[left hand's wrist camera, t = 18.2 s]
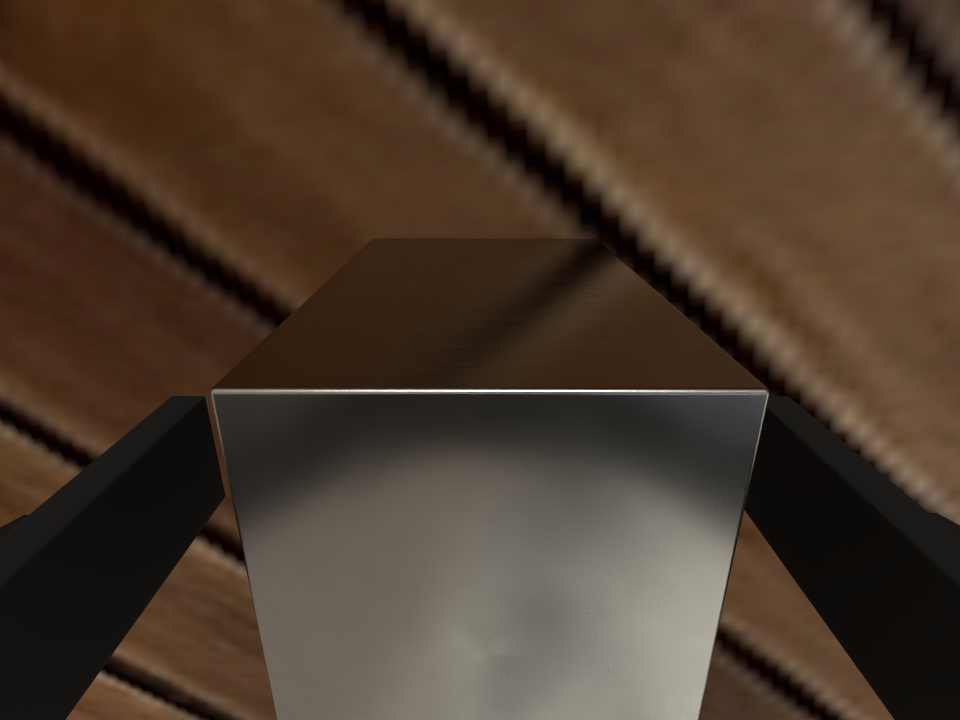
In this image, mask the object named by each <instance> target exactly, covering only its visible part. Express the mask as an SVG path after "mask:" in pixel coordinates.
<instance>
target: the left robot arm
mask: <svg viewBox="0 0 960 720" xmlns="http://www.w3.org/2000/svg"><path fill="white" fill-rule="evenodd" d="M224 497H225V492H224V487H223V482H222V477H221V472H220V468H219V463H218V458H217V453H216V448H215V443H214V438H213V433H212V429H211V424H210V419H209V414H208V409H207V404H206V399H205V396H172V397H170V398H169V399H168V400H167V401H166V402H164V403H163V404H162V405H161V406H160V407H158V408H157V409H156V410H155V411H154V412H152V413H151V414H150V415H149V416H148V417H146V418H145V419H144V420H143V421H142V422H140V423H139V424H138V425H137V426H136V427H134V428H133V429H132V430H131V431H130V432H128V433H127V434H126V435H125V436H124V437H122V438H121V439H120V440H119V441H117V442H116V443H115V444H114V445H113V446H111V447H110V448H109V449H108V450H107V451H105V452H104V453H103V454H102V455H101V456H99V457H98V458H97V459H96V460H95V461H93V462H92V463H91V464H90V465H89V466H87V467H86V468H85V469H84V470H83V471H81V472H80V473H79V474H78V475H77V476H75V477H74V478H73V479H72V480H71V481H69V482H68V483H67V484H66V485H65V486H63V487H62V488H61V489H60V490H59V491H57V492H56V493H55V494H54V495H53V496H51V497H50V498H49V499H48V500H47V501H45V502H44V503H43V504H42V505H40V506H39V507H38V508H37V509H36V510H34V511H33V512H32V513H31V514H30V515H23V516H21V517H19V518H18V519H16V520H14V521H12V522H10V523H8V524H6V525H5V526H3V527H1V528H0V720H66V718H67V717H68V715H69V714H70V713H71V711H72V710H73V708H74V707H75V706H76V704H77V703H78V701H79V700H80V699H81V697H82V696H83V694H84V693H85V692H86V690H87V689H88V687H89V686H90V685H91V683H92V682H93V680H94V679H95V678H96V676H97V675H98V673H99V672H100V671H101V669H102V668H103V666H104V665H105V664H106V662H107V661H108V659H109V658H110V657H111V655H112V654H113V652H114V651H115V650H116V648H117V647H118V645H119V644H120V643H121V641H122V640H123V638H124V637H125V636H126V634H127V633H128V631H129V630H130V629H131V627H132V626H133V624H134V623H135V622H136V620H137V619H138V617H139V616H140V615H141V613H142V612H143V610H144V609H145V608H146V606H147V605H148V604H149V602H150V601H151V599H152V598H153V597H154V595H155V594H156V592H157V591H158V590H159V588H160V587H161V585H162V584H163V583H164V581H165V580H166V578H167V577H168V576H169V574H170V573H171V571H172V570H173V569H174V567H175V566H176V564H177V563H178V562H179V560H180V559H181V557H182V556H183V555H184V553H185V552H186V550H187V549H188V548H189V546H190V545H191V543H192V542H193V541H194V539H195V538H196V536H197V535H198V534H199V532H200V531H201V529H202V528H203V527H204V525H205V524H206V522H207V521H208V520H209V518H210V517H211V515H212V514H213V513H214V511H215V510H216V508H217V507H218V506H219V504H220V503H221V501H222V500H223V499H224ZM744 510H745V511H746V513H747V514H748V515H749V517H750V518H751V520H752V521H753V522H754V524H755V525H756V527H757V528H758V529H759V531H760V532H761V534H762V535H763V536H764V538H765V539H766V541H767V542H768V543H769V545H770V546H771V548H772V549H773V550H774V552H775V553H776V555H777V556H778V557H779V559H780V560H781V562H782V563H783V564H784V566H785V567H786V569H787V570H788V571H789V573H790V574H791V576H792V577H793V578H794V580H795V581H796V583H797V584H798V585H799V587H800V588H801V590H802V591H803V592H804V594H805V595H806V596H807V598H808V599H809V601H810V602H811V603H812V605H813V606H814V608H815V609H816V610H817V612H818V613H819V615H820V616H821V617H822V619H823V620H824V622H825V623H826V624H827V626H828V627H829V629H830V630H831V631H832V633H833V634H834V636H835V637H836V638H837V640H838V641H839V643H840V644H841V645H842V647H843V648H844V650H845V651H846V652H847V654H848V655H849V657H850V658H851V659H852V661H853V662H854V664H855V665H856V666H857V668H858V669H859V671H860V672H861V673H862V675H863V676H864V678H865V679H866V680H867V682H868V683H869V685H870V686H871V687H872V689H873V690H874V692H875V693H876V694H877V696H878V697H879V699H880V700H881V701H882V703H883V704H884V706H885V707H886V708H887V710H888V711H889V712H890V714H891V715H892V717H893V718H894V719H895V720H960V525H958V524H956V523H954V522H952V521H950V520H949V519H947V518H945V517H943V516H941V515H939V514H937V513H928V512H927V511H926V510H924V509H923V508H922V507H921V506H920V505H918V504H917V503H916V502H915V501H914V500H912V499H911V498H910V497H909V496H908V495H906V494H905V493H904V492H903V491H901V490H900V489H899V488H898V487H897V486H895V485H894V484H893V483H892V482H891V481H889V480H888V479H887V478H886V477H885V476H883V475H882V474H881V473H880V472H879V471H877V470H876V469H875V468H874V467H873V466H871V465H870V464H869V463H868V462H867V461H865V460H864V459H863V458H862V457H861V456H859V455H858V454H857V453H856V452H855V451H853V450H852V449H851V448H850V447H849V446H847V445H846V444H845V443H844V442H843V441H841V440H840V439H839V438H838V437H837V436H835V435H834V434H833V433H832V432H831V431H829V430H828V429H827V428H826V427H824V426H823V425H822V424H821V423H820V422H818V421H817V420H816V419H815V418H814V417H812V416H811V415H810V414H809V413H808V412H806V411H805V410H804V409H803V408H802V407H800V406H799V405H798V404H797V403H796V402H794V401H793V400H792V399H791V398H790V397H788V396H769V397H768V401H767V406H766V411H765V415H764V420H763V424H762V429H761V434H760V438H759V443H758V447H757V452H756V457H755V461H754V466H753V470H752V475H751V480H750V484H749V489H748V493H747V498H746V503H745V507H744Z"/></svg>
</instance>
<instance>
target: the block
mask: <svg viewBox="0 0 960 720" xmlns="http://www.w3.org/2000/svg"><path fill="white" fill-rule="evenodd" d="M211 397H212V402H213V407H214V412H215V417H216V422H217V427H218V432H219V437H220V442H221V447H222V452H223V456H224V461H225V466H226V471H227V476H228V481H229V486H230V491H231V496H232V501H233V506H234V511H235V516H236V521H237V526H238V530H239V535H240V540H241V545H242V550H243V555H244V560H245V565H246V570H247V575H248V580H249V585H250V590H251V595H252V600H253V604H254V609H255V614H256V619H257V624H258V629H259V634H260V639H261V644H262V649H263V654H264V659H265V664H266V669H267V673H268V678H269V683H270V688H271V693H272V698H273V703H274V708H275V713H276V718H277V720H698V718H699V714H700V709H701V705H702V700H703V695H704V691H705V686H706V682H707V677H708V672H709V668H710V663H711V659H712V654H713V649H714V645H715V640H716V636H717V631H718V626H719V622H720V617H721V613H722V608H723V604H724V599H725V594H726V590H727V585H728V581H729V576H730V571H731V567H732V562H733V558H734V553H735V548H736V544H737V539H738V535H739V530H740V525H741V521H742V516H743V512H744V507H745V503H746V498H747V493H748V489H749V484H750V480H751V475H752V470H753V466H754V461H755V457H756V452H757V447H758V443H759V438H760V434H761V429H762V424H763V420H764V415H765V411H766V406H767V401H768V397H769V391H768V389H767V388H766V387H765V386H764V385H763V384H762V383H760V382H759V381H758V380H757V379H756V378H755V377H754V376H752V375H751V374H750V373H749V372H748V371H747V370H746V369H744V368H743V367H742V366H741V365H740V364H739V363H738V362H736V361H735V360H734V359H733V358H732V357H731V356H730V355H728V354H727V353H726V352H725V351H724V350H723V349H722V348H720V347H719V346H718V345H717V344H716V343H715V342H714V341H712V340H711V339H710V338H709V337H708V336H707V335H706V334H704V333H703V332H702V331H701V330H700V329H699V328H698V327H696V326H695V325H694V324H693V323H692V322H691V321H690V320H688V319H687V318H686V317H685V316H684V315H683V314H682V313H680V312H679V311H678V310H677V309H676V308H675V307H674V306H672V305H671V304H670V303H669V302H668V301H667V300H666V299H665V298H663V297H662V296H661V295H660V294H659V293H658V292H657V291H655V290H654V289H653V288H652V287H651V286H650V285H649V284H647V283H646V282H645V281H644V280H643V279H642V278H641V277H639V276H638V275H637V274H636V273H635V272H634V271H633V270H631V269H630V268H629V267H628V266H627V265H626V264H625V263H623V262H622V261H621V260H620V259H619V258H618V257H617V256H615V255H614V254H613V253H612V252H611V251H610V250H609V249H607V248H606V247H605V246H604V245H603V244H602V243H601V242H599V241H598V240H597V239H373V240H371V241H370V242H369V243H368V244H367V245H366V246H365V247H364V248H363V249H362V250H360V251H359V252H358V253H357V254H356V255H355V256H354V257H353V258H352V259H351V260H350V261H349V262H348V263H346V264H345V265H344V266H343V267H342V268H341V269H340V270H339V271H338V272H337V273H336V274H335V275H334V276H332V277H331V278H330V279H329V280H328V281H327V282H326V283H325V284H324V285H323V286H322V287H321V288H320V289H318V290H317V291H316V292H315V293H314V294H313V295H312V296H311V297H310V298H309V299H308V300H307V301H306V302H304V303H303V304H302V305H301V306H300V307H299V308H298V309H297V310H296V311H295V312H294V313H293V314H292V315H290V316H289V317H288V318H287V319H286V320H285V321H284V322H283V323H282V324H281V325H280V326H279V327H278V328H276V329H275V330H274V331H273V332H272V333H271V334H270V335H269V336H268V337H267V338H266V339H265V340H264V341H262V342H261V343H260V344H259V345H258V346H257V347H256V348H255V349H254V350H253V351H252V352H251V353H250V354H248V355H247V356H246V357H245V358H244V359H243V360H242V361H241V362H240V363H239V364H238V365H237V366H236V367H234V368H233V369H232V370H231V371H230V372H229V373H228V374H227V375H226V376H225V377H224V378H223V379H222V380H220V381H219V382H218V383H217V384H216V385H215V386H214V387H213V388H212V390H211Z"/></svg>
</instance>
